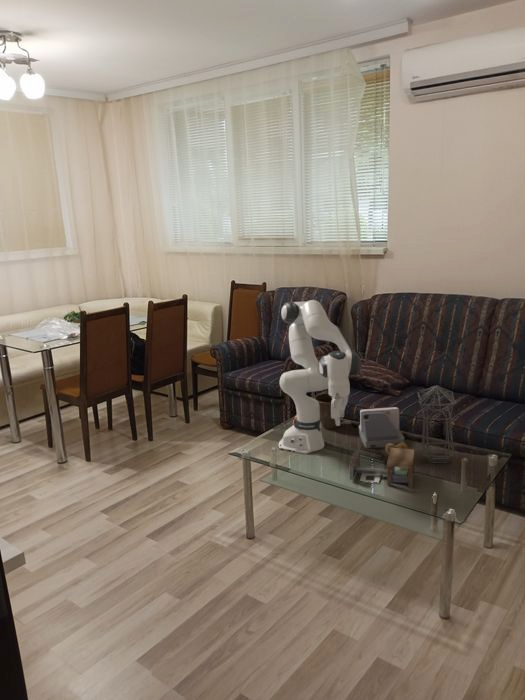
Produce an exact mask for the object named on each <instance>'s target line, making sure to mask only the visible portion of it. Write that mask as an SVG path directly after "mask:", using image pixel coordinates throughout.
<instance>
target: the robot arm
mask: <svg viewBox="0 0 525 700" xmlns="http://www.w3.org/2000/svg"><path fill="white" fill-rule="evenodd" d="M326 311H327V310H326V307H325V305H324V304H322V303H320V302H319V300H318V301H317V300H316V299H310V300H307V301H287V302H285V303H284V304H283V305H282V307H281V311H280V312H281V313H280V317H281V319H282V321H283V322H284V323H285V324H290V325H289V327H288V345H289V351H290V357H291V360H292V361H293V362H294V363H295V364H298V365H299V366H302V367H303V368H304V369H295V370H294V369H293V370H289V371H285V372H283V373H282V374H281V376H280V378H279V387H280V389H281V390H282V392H283V393H284V394H287V395H288V396H290V398H291V399H292V400H293V402H294V405H295V409H296V415H295V416H293V421H292V426H290V427H289V428H287V429H286V430H285V432H284V433H283V436H282V438H281V439H280V440H279V442H278V445H277V446H279V448H283V449H287V450H291V451H290V452H293V451H295V452H294V453H298V454H304V455H305V454H309V453H312V452H317V451H320V450H322V449H323V448H324V447H325V441H324V439H323V434H322V427H323V426H322V423H321V418H320V407H319V403H318V401H317V400H315V397H314V398H313V397H310V396H308V395H307V393H311V392H312V393H313V392H320V391H326V390H328V393H329V395H330V396H332V402H331V417H332V418H333V419H335V422H336V426H337V427H339V426H341V418H345V409H346V406H347V404H348V402H349V395H350V393H351V392H350V391H351V389H350V387H351V386H350V380H349V377H350V376H356V375H358V374H359V373H360V371H361V369H362V367H363V366H362V365H363V364H362V363H363V362H362V359H361V356H360V355H359V354H358V353H357V352H356V351H355V349H354V348H353V346H352V345H351V343H350V342H349V339H347V336H346V335H345V334H344V332H343V330H341V329H342V328H340V326H337V325H335V324H334V323H333V322H331V320H330V319H329V318H328V315H327V312H326ZM312 338H313V339H315V340H320V341H326V342H330V343H334V344H335V345H337V347H338V349H339V350H334V351H331V352H329V353H328V354H327V355H325V356H324V355H323V356H322V357H321V358H320V359H319V360H318V358H317V357H316V354H315V351H314V346H313V340H312ZM280 445H281V446H280ZM279 448H278V449H279ZM287 450H286V451H287Z"/></svg>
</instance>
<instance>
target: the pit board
mask: <svg viewBox="0 0 525 700" xmlns="http://www.w3.org/2000/svg"><path fill="white" fill-rule="evenodd" d="M370 468H371V467H370ZM371 469H375V468H373V467H372V468H371ZM381 476H382V475H378V474H367V473H361V475H360V479H359V482H360V481H368V482H377V483H376V484H378V483H379V484H380V482H379V481H381V478H382V477H381Z"/></svg>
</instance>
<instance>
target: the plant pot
mask: <svg viewBox="0 0 525 700" xmlns="http://www.w3.org/2000/svg"><path fill="white" fill-rule="evenodd" d="M314 399H315V400H317V401H318V403H319V407H320V418H321V426H322V427H323V429H326V428H327V430H333V429H336V428H337V427H336V422H335V419H333V418H332V417H331V402H332V396H330V395H329V392H324V393H320V394H319V393H318V394H317V395H315V396H314ZM335 427H336V428H335ZM332 428H333V429H332Z"/></svg>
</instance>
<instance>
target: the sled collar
mask: <svg viewBox="0 0 525 700" xmlns="http://www.w3.org/2000/svg"><path fill="white" fill-rule="evenodd" d="M348 465H349V466H348V467H349V481H350V480H352V481H354V479H355V476H356V474H358V473H359V474H362V473H367V474H378V475H381V476H387V469H383V468H374V469H371V467H359V450H354V452H353V453H352V456H351V460H350V462H349V464H348ZM394 470H395V467H392V469H391V483H399V484H408V476H406V475H394Z"/></svg>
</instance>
